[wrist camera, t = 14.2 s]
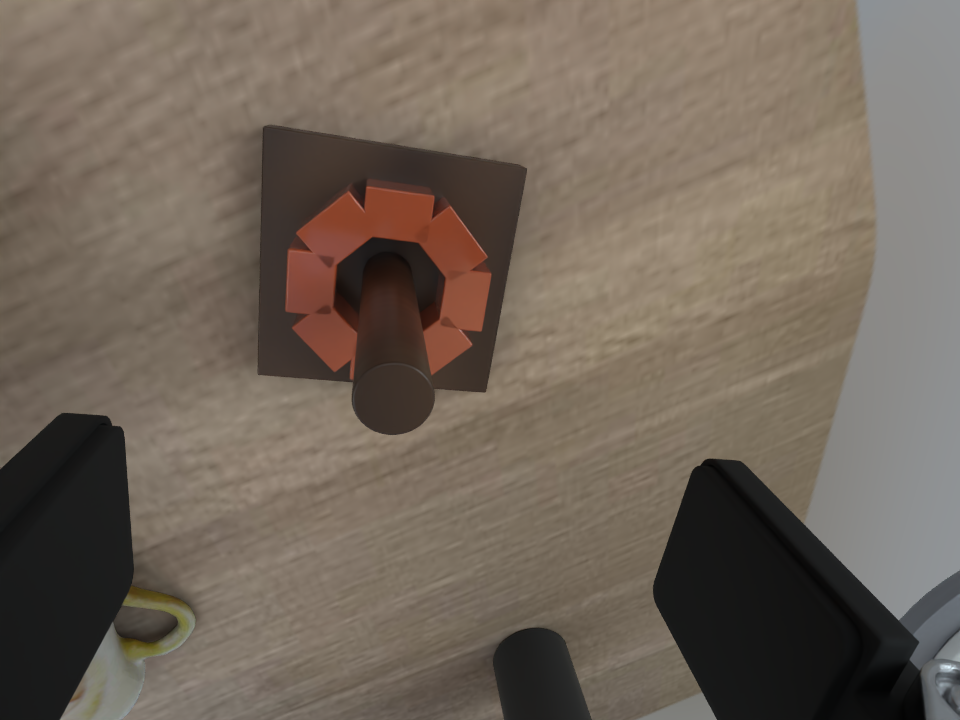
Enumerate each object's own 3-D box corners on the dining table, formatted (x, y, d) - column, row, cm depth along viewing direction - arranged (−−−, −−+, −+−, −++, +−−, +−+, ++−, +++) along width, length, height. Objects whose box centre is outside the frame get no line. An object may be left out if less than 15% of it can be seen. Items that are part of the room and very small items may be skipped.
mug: (76, 700, 30) (-176, 868, 20) (55, 504, 30) (-204, 575, 20) (211, 695, 28) (16, 871, 19) (189, 491, 29) (-16, 558, 19)
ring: (493, 196, 21) (504, 206, 20) (465, 367, 24) (471, 390, 22) (297, 167, 20) (289, 174, 18) (289, 352, 23) (281, 375, 21)
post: (520, 164, 22) (637, 221, 12) (481, 380, 26) (547, 564, 16) (268, 124, 20) (161, 151, 10) (262, 362, 24) (176, 558, 14)
